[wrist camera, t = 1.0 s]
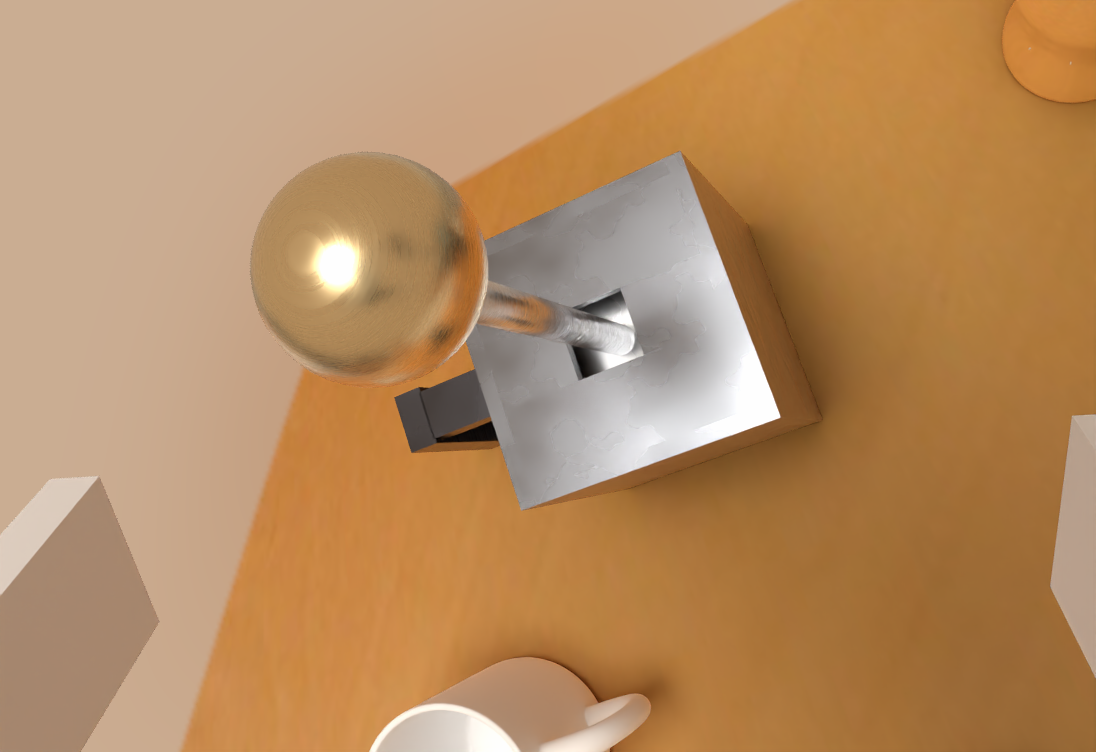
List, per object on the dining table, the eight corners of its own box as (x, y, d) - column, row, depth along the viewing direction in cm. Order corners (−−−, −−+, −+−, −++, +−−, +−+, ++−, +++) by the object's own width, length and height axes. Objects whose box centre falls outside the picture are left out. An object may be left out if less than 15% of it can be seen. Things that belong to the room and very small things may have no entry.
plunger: (685, 207, 40) (418, -29, 19) (758, 402, 38) (555, 373, 18) (505, 286, 42) (98, 153, 22) (567, 472, 41) (197, 517, 20)
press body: (747, 224, 49) (680, 150, 36) (822, 420, 48) (780, 417, 35) (485, 335, 54) (341, 306, 41) (545, 518, 52) (416, 548, 39)
